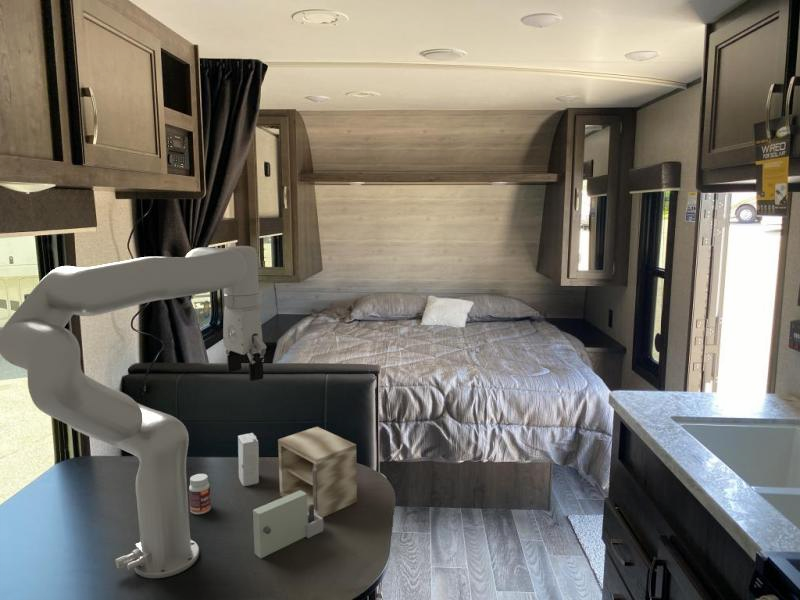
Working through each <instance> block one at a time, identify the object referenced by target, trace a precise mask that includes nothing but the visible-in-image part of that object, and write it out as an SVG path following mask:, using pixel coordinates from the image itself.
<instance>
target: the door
mask: <svg viewBox="0 0 800 600" xmlns="http://www.w3.org/2000/svg"><path fill="white" fill-rule="evenodd" d="M252 521H253V524H252V526H253V545H254V547H253V548H254V555H256V556H257V557H258V558H259V559H263V558H265V557H266V556H269V555H271V554H273V553H275V552H277V551H279V550H281V549H283V548H285V547H288V546H290V545H292V544H293V543H295V542H297V541H299V540H302V539H304V538H305V537H306V538H308V539H309V538H312V537H313V536H315V535H318V534H319V533H322V532H323V531H324V517H323V518H322V517H320V516H319V515H317V514H315V513H314V521H313V522H311V523H309V513H307V494H306V493H305V492H303V491H301V490H299V491H297V492H295V493H292V494H290V495H287V496H285V497H281V498H278V499H276V500H273V501H272V502H268V503H266V504H264V505H261V506H259V507H257V508H254V509H253V510H252Z"/></svg>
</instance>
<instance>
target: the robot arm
mask: <svg viewBox="0 0 800 600" xmlns="http://www.w3.org/2000/svg"><path fill="white" fill-rule="evenodd" d="M258 262H259V260H258V253H257V249H256V248H255V247H252V246H250V245H234V246H233V245H232V246H231V245H230V246H227V247H222V248H221V247H209V246H208V247H206V246H203V247H202V246H201V247H195V248H194V249H191V250H190V251H189V252H188V253H187V254H186V255H185V256H182V257H180V256H179V257H178V256H174V257H173V256H144V257H138V258H133V259H128V260H123V261H118V262H112V263H106V264H102V265H96V266H95V265H94V266H89V267H77V266H71V265H64V266H63V265H62V266H59V267H55V269H52V270H51V271H50V272H48V273H47V274H46V275H45V276H44V277H43V278H42V279H41V280H40V281H39V283H37V285H36V286H35V287H34V288H33V290H32V291H31V292H30V293H29V294H28V295H27V297H26V298H25V299H24V300H23V302H22V303H21V304H20V305H19V307H18V308H17V309H16V310H15V311H14V313H13V314H12V315H11V316H10V317H9V319H8V320H7V322H6V323H4V325H3V327H2V329H1V330H0V355H1V356H2V358H3V359H4V360H5V361H6V362H8V363H9V364H11V365H13V366H16V367H19V368H21V369H25V370H26V373H27V389H28V392H29V396H30V398H31V400H32V402H33V404H34V406H35V407H36V408H37V409H38V410H39V411H41V412H42V413H44V414H45V415H48V417H51V418H53V419H55V420H57V421H59V422H62V423H64V424H65V425H68V426H70V428H72V429H73V430H74V431H76V432H79V433H81V434H83V435H85V436H87V437H89V438H92V439H94V440H97V441H101V442H103V443H106V444H108V445H110V446H113V447H115V448H118V449H119V450H123V451H124V452H127V453H129V454H131V455H133V456H134V457H137V458H138V461H139V466H138V470H137V473H136V477H135V496H136V504H137V506H136V507H137V517H138V529H139V531H138V532H139V540H140V541H139V542H138V543H135V549H133V550H131V552H130V553H128V554H125V555H122V556H120V557H118V558H115V560H114V561H115V567H116V568H117V569H119V570H120V568H123V567H126V569H127V570H128V571H131V570H133V569H134V572H135V573H136V574H137V575H139V576H140V577H143V578H147V579H161V578H163V579H164V578H167V577H171V576H175V575H178V574H180V573H182V572H184V571H186V570H187V569H189V568H190V567H192V565H194V564H195V563H196V561H197V560H198V558H199V555H200V547H199V544H198V543H197V542H195V540H192V539H191V532H190V531H191V530H190V514H189V513H190V512H189V511H190V510H189V497H188V485H187V483H188V482H187V457H188V456H187V455H188V449H189V448H188V447H189V443H190V442H189V440H190V438H189V431H188V430H187V427H186V426H185V425H184V423H183V422H182V421H181V420H179V419H178V418H177V417H175V416H173V415H171V414H168V413H165V412H162V411H160V410H156V409H154V408H150V407H148V406H145V405H143V404H142V403H141V404H140V403H138V402H137V401H135V400H134V399H133V398H132V397H131V396H130V395H128V394H126V393H124V392H122V391H120V390H119V389H115V388H112V387H109V386H106V385H105V384H103V383H101V382H98V381H97V380H95V379H94V378H91V377H90V376H88V375H87V374H85V373H84V372H83V369H82V365H81V364H82V363H81V348H80V347H81V346H80V344H79V341H78V339H77V337H76V336H75V334H73V333H72V331H70V330H69V329H68V328H65V327H66V325H67V324H68V323H69V322H70V320H71V318H72V317H73V316H74V315H75V316H78V317H79V316H80V317H95V316H99V315H103V314H107V313H111V312H115V311H119V310H122V309H127V308H130V307H131V308H132V307H135V306H139V305H142V304H146V303H151V302H155V301H160V300H161V301H163V300H171V299H172V300H173V299H176V298H177V299H178V298H183V297H188V296H194V295H195V296H196V295H201V294H207V293H212V292H217V291H220V290H223V294H224V295H223V296H224V298H223V299H224V310H223V319H222V320H223V321H222V322H223V324H222V325H223V326H222V327H223V328H222V333H223V334H222V336H223V337H222V339H223V342H222V343H223V347H224V348H225V349H226V350H225V353H226V356H227V357H226V359H227V360H226V361H227V371H228V372H230V373H232V372H236V371H241V370H242V355H246V356H247V357H248V360H249V362H250V363H248V377H249V381H250V382H255V381H258V380H262V379H264V361H265V357H266V352H267V345H266V343H265V342H264V341H263V332H262V331H263V329H262V321H261V314H260V309H259V308H260V289H259V288H260V287H259V267H258V266H259V263H258Z"/></svg>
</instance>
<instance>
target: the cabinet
mask: <svg viewBox="0 0 800 600" xmlns="http://www.w3.org/2000/svg"><path fill="white" fill-rule="evenodd" d="M277 443H278V444H277V445H278V446H277V448H278V449H277V451H278V474H279V477H278V479H279V496H281V498H283V497H285V496H287V495H290V494H292V493H295V492H297V491H299V490H301V491H303V492H305V493H306V494H307V514H308V513H309V523H311V522H313V521H314V513H315V514H317V515H319V516H320V517H322V518H323V519H324V517H327V516H328V515H331V514H333V513H335V512H338V511H340V510H341V509H344V508H346V507H348V506H350V505H352V504H355V503H357V502H358V494H357V493H358V482H357V481H358V479H357V476H358V475H357V465H358V464H357V443H353V442H352V441H350V440H348V439H345V438H343V437H341V436H339V435H337V434H334V433H332V432H330V431H328V430H325V429H323V428H321V427H319V426H315V427H312V428H308V429H306V430H302V431H299V432H296V433H293V434H291V435H287V436H285V437H281V438H278V439H277Z"/></svg>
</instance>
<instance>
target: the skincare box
mask: <svg viewBox="0 0 800 600" xmlns="http://www.w3.org/2000/svg"><path fill="white" fill-rule="evenodd" d="M237 446H238V447H237V448H238V449H237V453H238V455H237V456H238V478H239V481H240V483H241V485H242V487H247V486H252V485H257V484H259V483H260V479H259V478H260V477H259V475H260V471H259V469H260V465H259V464H260V463H259V462H260V460H259V459H260V458H259V457H260V456H259V455H260V453H259V450H260V448H259V446H260V445H259V439H257V436H256V435H255V434H254V433H253V432H250V433H244V434H240V435H237Z"/></svg>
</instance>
